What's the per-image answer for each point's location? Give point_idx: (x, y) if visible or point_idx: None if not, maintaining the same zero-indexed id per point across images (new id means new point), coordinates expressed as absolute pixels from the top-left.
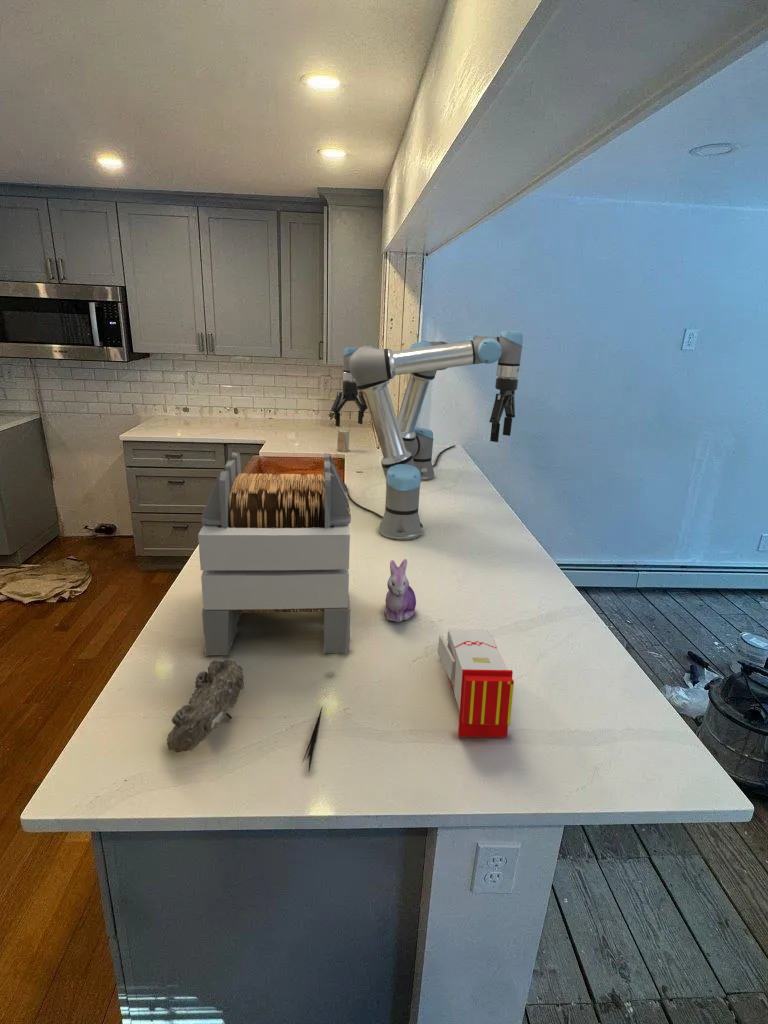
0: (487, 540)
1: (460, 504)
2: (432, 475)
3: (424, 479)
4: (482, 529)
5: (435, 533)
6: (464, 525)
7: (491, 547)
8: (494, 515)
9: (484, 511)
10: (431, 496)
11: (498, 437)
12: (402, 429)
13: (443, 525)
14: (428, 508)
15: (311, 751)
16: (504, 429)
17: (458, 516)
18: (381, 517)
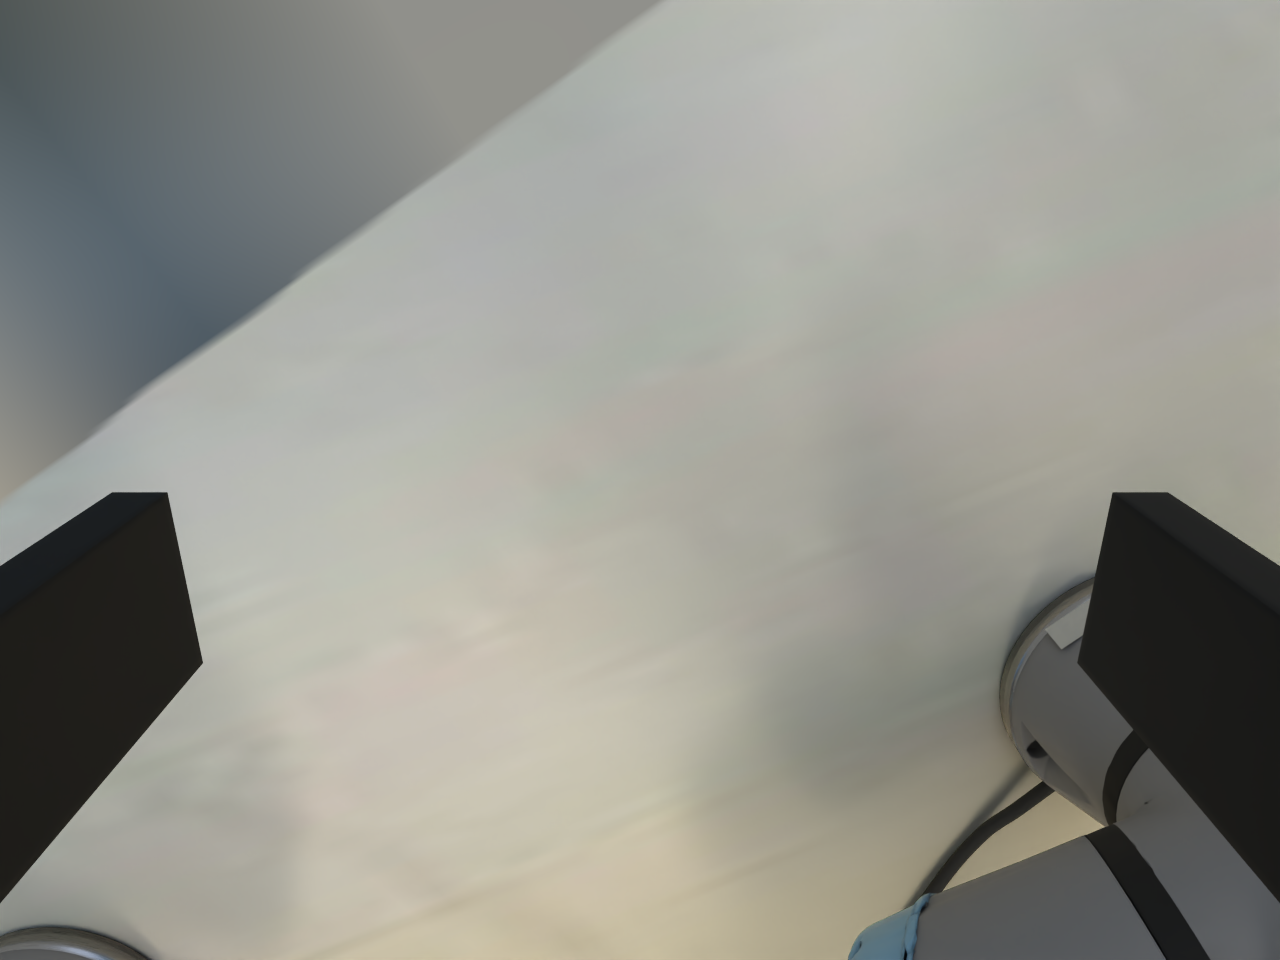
0: (1009, 162)
1: (404, 593)
2: (36, 950)
3: (125, 955)
4: (809, 275)
5: (1048, 510)
6: (802, 412)
7: (1133, 85)
8: (459, 304)
9: (426, 400)
10: (389, 796)
11: (1190, 542)
12: None
13: (880, 526)
14: (627, 721)
15: None
16: (119, 720)
17: (652, 512)
18: (974, 850)
